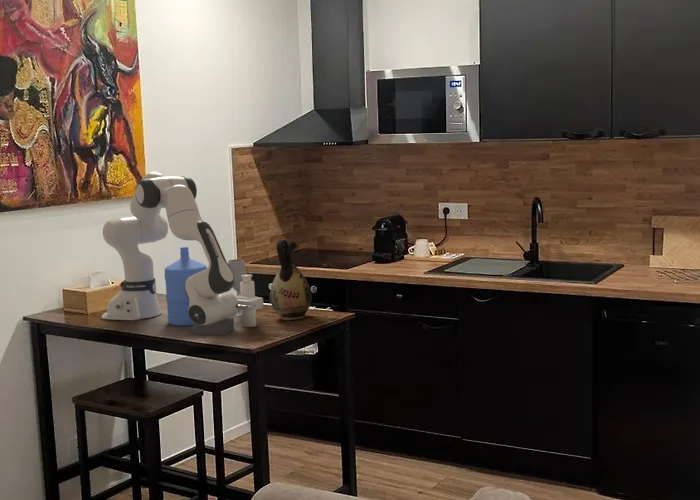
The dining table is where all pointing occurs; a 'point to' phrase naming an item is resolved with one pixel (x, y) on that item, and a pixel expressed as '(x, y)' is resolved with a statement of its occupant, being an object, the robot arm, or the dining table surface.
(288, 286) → the ceramic jug
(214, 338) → the dining table surface
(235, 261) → the wineglass
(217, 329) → the plinth
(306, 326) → the dining table surface
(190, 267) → the water jug
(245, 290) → the vase
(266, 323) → the dining table surface
